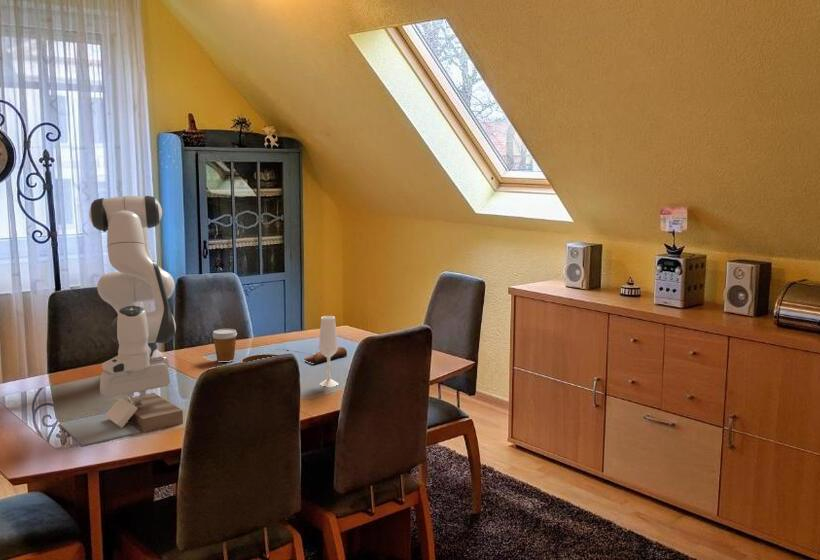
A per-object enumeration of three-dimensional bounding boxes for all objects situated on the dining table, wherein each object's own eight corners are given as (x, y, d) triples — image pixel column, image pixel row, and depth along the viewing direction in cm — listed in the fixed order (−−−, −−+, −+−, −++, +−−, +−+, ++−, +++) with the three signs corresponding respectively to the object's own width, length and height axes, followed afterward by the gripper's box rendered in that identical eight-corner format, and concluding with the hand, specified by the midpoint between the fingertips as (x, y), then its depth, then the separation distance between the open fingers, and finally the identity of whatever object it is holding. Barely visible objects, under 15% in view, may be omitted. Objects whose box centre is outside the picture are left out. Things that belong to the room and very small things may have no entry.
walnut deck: (116, 412, 235) (116, 400, 235) (154, 404, 243) (153, 392, 242) (143, 432, 219) (142, 419, 218) (183, 423, 226) (182, 410, 226)
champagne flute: (325, 388, 261) (324, 320, 257) (315, 383, 266) (314, 316, 263) (342, 384, 265) (341, 317, 261) (332, 380, 270) (331, 314, 266)
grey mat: (58, 424, 224) (58, 423, 224) (113, 413, 235) (113, 411, 234) (82, 446, 208) (82, 444, 208) (140, 433, 218) (140, 431, 218)
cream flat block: (109, 419, 228) (104, 415, 227) (125, 400, 230) (120, 396, 229) (121, 428, 220) (116, 424, 219) (137, 408, 223) (132, 404, 222)
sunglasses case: (332, 352, 309) (338, 340, 306) (343, 363, 306) (349, 351, 302) (299, 361, 295) (305, 348, 292) (310, 373, 292) (316, 360, 289)
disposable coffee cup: (231, 365, 290) (230, 334, 288) (208, 363, 292) (207, 333, 290) (242, 358, 299) (241, 329, 297) (220, 357, 301) (219, 327, 299)
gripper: (163, 353, 234) (166, 396, 237) (96, 364, 221) (99, 410, 223) (172, 357, 230) (174, 401, 232) (103, 369, 216) (106, 415, 219)
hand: (137, 405), depth 228 cm, fingers closed
